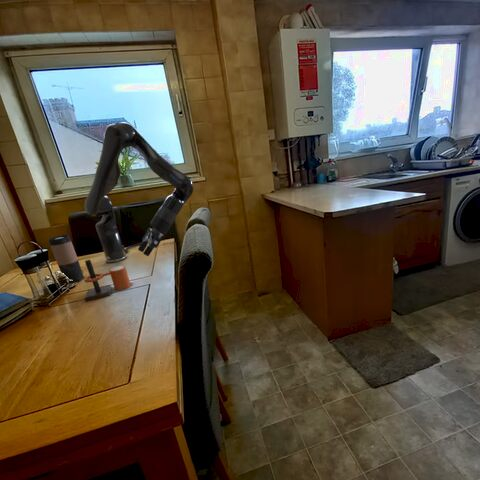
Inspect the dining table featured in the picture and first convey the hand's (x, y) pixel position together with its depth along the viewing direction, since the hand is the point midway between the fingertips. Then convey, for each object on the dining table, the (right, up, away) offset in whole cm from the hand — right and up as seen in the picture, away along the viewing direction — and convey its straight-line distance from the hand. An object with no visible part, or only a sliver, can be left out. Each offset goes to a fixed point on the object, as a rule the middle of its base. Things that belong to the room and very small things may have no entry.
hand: (142, 253), depth 113 cm
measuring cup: (-11, -15, -4) cm, 19 cm away
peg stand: (-14, -16, -6) cm, 22 cm away
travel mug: (-36, -12, +12) cm, 40 cm away
